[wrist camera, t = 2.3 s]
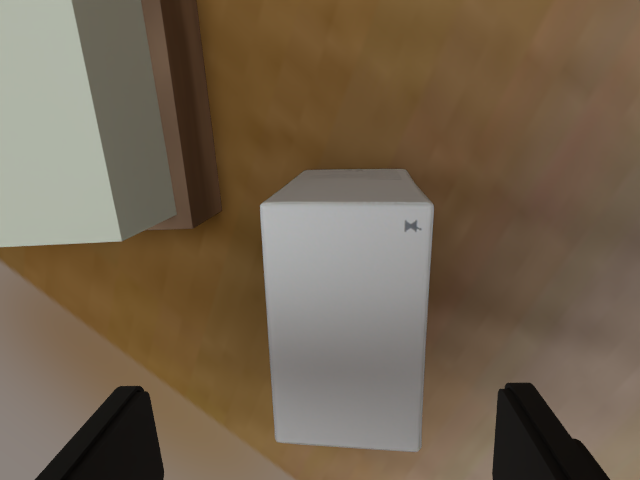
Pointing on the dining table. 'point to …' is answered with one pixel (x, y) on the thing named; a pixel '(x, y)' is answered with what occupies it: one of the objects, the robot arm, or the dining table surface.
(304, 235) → the skincare box
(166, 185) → the grey green slab
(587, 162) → the dining table surface
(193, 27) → the walnut slab
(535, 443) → the robot arm
